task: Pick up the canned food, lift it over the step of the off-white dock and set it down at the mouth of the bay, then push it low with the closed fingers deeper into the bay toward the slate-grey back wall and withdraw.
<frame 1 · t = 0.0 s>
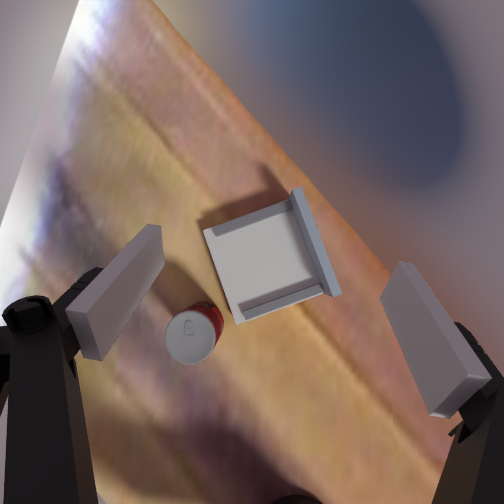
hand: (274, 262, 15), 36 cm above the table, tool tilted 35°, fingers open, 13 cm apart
dock: (265, 260, 51), on the table
canned food: (204, 322, 51), on the table
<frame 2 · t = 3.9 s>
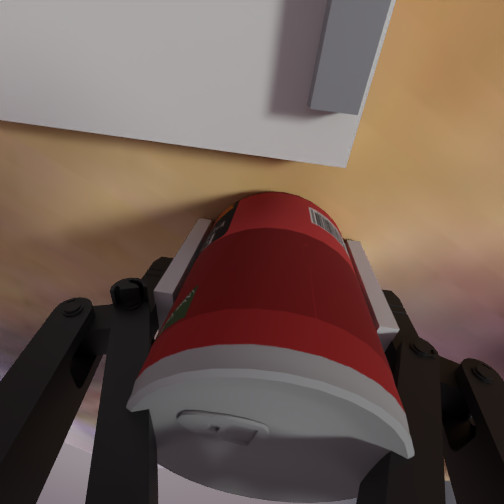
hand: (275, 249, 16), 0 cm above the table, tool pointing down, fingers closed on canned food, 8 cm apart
canned food: (275, 245, 17), on the table, touching gripper
when the fingers open (5 cm above the table, at t = 9.4 s): canned food stays where it is, resting on dock, hand.
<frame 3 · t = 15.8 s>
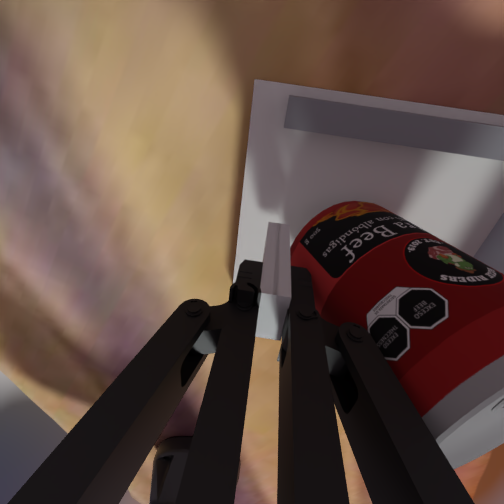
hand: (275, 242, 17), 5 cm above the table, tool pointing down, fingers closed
dock: (354, 227, 22), on the table
canned food: (333, 251, 18), point 4 cm above the table, touching dock, gripper, hand
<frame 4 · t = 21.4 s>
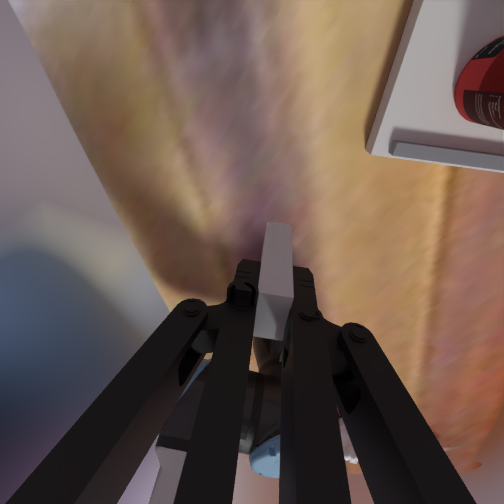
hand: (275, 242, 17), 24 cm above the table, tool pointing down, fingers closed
dock: (469, 78, 31), on the table
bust: (345, 419, 74), on the table
canned food: (491, 81, 29), point 3 cm above the table, touching dock
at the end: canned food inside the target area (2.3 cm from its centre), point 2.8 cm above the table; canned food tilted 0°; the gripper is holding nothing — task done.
